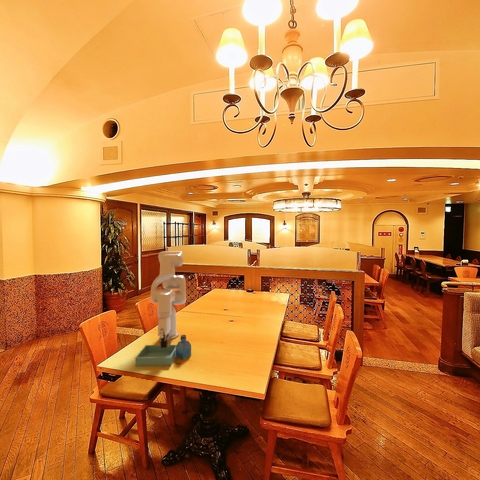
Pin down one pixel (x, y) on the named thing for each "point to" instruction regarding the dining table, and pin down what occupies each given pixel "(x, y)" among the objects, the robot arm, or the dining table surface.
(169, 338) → the walnut cube
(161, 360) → the tote
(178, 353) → the perfume bottle
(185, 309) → the dining table surface
